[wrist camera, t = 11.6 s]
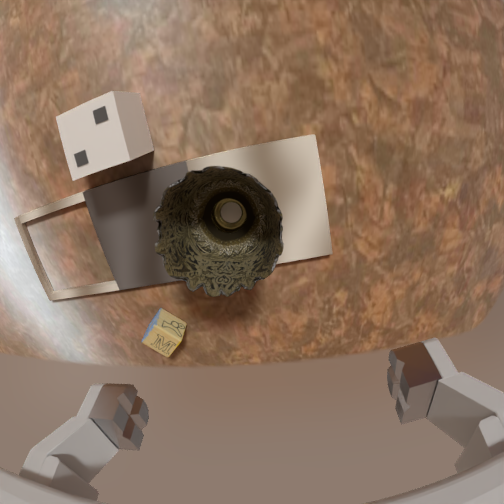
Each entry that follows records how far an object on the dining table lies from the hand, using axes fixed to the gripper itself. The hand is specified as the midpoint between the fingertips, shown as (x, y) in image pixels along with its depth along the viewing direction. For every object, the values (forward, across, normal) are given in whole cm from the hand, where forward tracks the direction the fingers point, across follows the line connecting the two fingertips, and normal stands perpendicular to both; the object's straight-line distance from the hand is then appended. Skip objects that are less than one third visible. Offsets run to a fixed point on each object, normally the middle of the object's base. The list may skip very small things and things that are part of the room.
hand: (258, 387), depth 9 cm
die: (+18, +10, -9) cm, 23 cm away
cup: (+18, +2, 0) cm, 18 cm away
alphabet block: (+19, +12, +10) cm, 24 cm away
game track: (+18, +10, 0) cm, 21 cm away
